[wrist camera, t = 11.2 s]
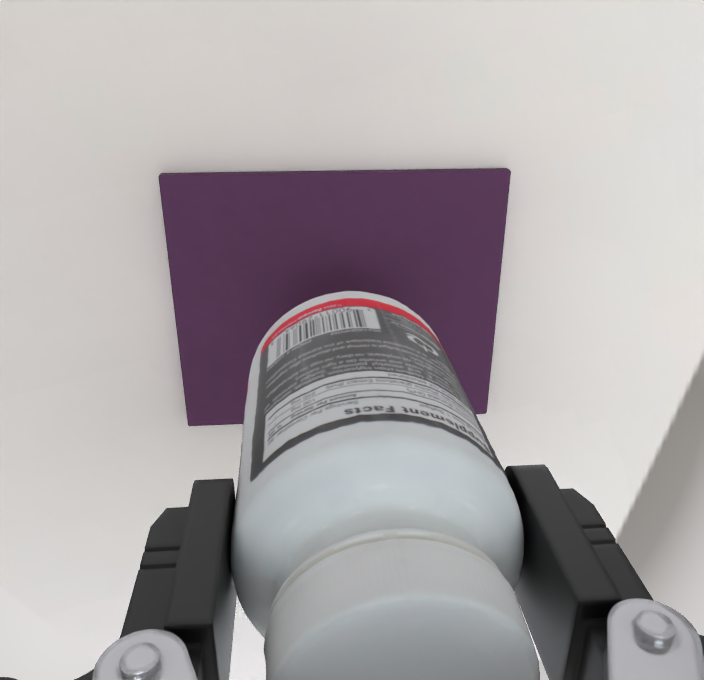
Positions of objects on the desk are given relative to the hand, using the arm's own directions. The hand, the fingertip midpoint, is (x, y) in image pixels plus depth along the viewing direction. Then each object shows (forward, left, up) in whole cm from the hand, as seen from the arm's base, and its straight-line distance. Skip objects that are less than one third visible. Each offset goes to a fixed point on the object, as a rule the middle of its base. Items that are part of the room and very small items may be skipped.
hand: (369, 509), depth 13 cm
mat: (0, 0, -11) cm, 11 cm away
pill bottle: (0, 0, -6) cm, 6 cm away
